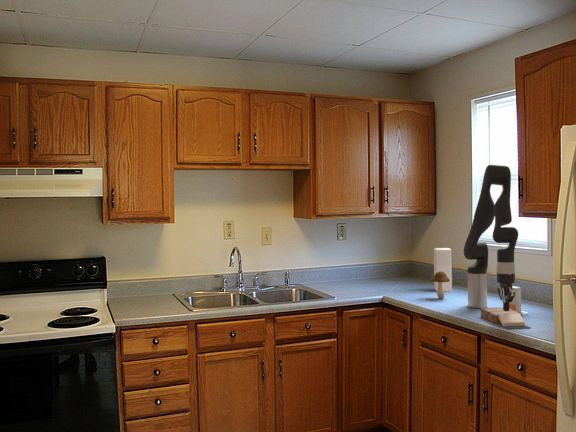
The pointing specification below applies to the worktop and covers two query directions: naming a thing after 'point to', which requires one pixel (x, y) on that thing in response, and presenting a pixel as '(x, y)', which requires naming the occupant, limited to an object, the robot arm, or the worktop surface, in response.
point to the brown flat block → (495, 314)
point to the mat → (515, 327)
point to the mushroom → (440, 282)
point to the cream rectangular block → (511, 320)
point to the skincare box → (516, 299)
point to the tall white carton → (443, 267)
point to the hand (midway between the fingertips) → (506, 310)
